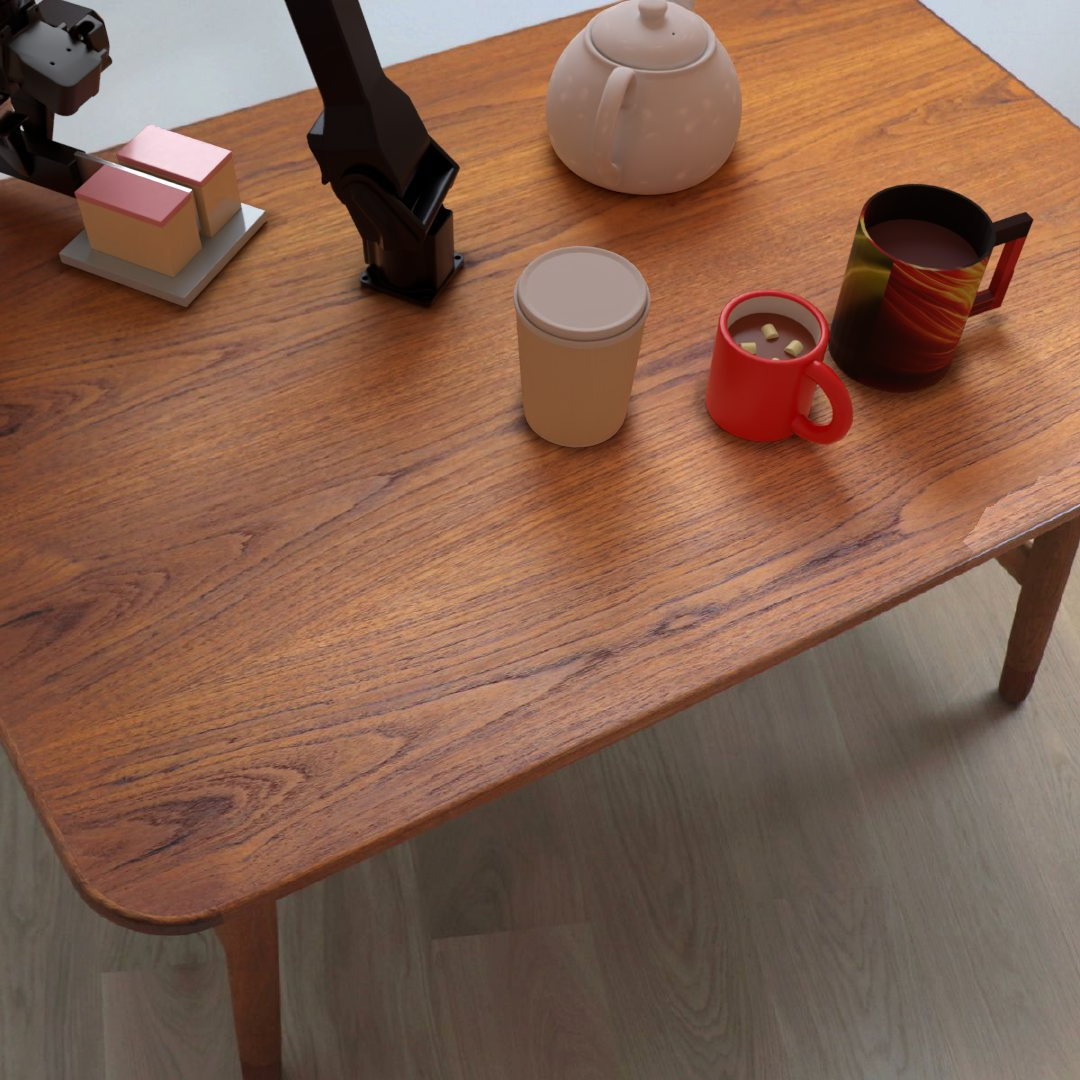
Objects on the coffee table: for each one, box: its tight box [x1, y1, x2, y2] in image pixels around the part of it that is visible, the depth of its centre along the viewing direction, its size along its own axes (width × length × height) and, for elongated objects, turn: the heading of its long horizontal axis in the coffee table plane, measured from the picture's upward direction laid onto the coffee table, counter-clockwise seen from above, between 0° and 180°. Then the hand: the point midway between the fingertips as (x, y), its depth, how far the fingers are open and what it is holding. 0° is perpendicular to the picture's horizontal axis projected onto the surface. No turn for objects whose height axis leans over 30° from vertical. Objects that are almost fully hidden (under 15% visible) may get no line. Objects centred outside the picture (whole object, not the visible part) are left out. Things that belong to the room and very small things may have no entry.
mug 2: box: [827, 183, 1034, 393], centre depth 103 cm, size 10×14×12 cm
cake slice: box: [75, 164, 202, 278], centre depth 108 cm, size 8×4×6 cm, turn 65°
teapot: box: [545, 0, 743, 196], centre depth 116 cm, size 19×18×14 cm
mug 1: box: [704, 289, 854, 446], centre depth 99 cm, size 8×12×8 cm, turn 43°
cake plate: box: [58, 123, 268, 308], centre depth 110 cm, size 12×12×7 cm
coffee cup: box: [513, 245, 651, 448], centre depth 97 cm, size 9×9×12 cm
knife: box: [0, 129, 201, 232], centre depth 111 cm, size 21×2×4 cm, turn 65°
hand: (35, 166), depth 113 cm, fingers closed on knife, 2 cm apart
